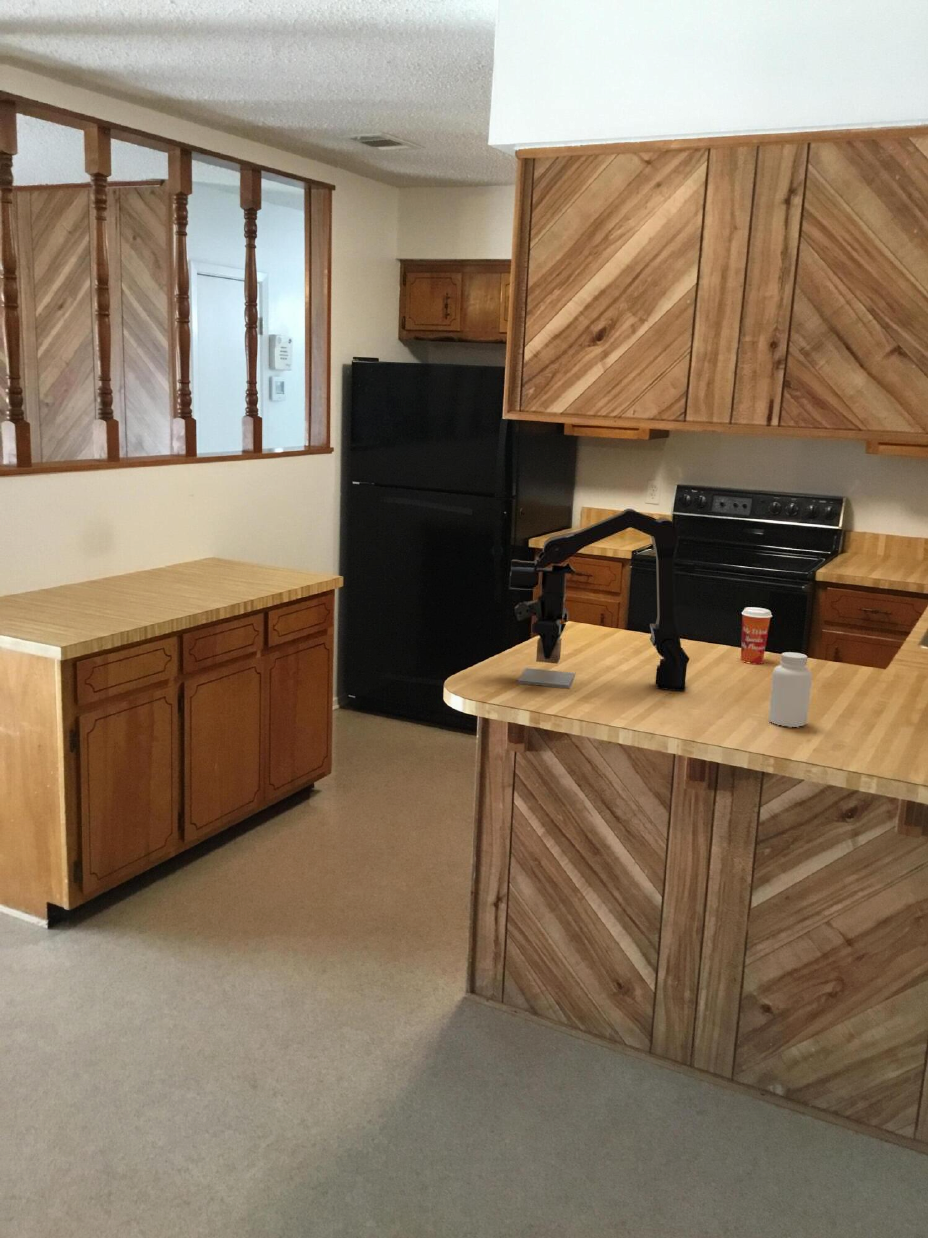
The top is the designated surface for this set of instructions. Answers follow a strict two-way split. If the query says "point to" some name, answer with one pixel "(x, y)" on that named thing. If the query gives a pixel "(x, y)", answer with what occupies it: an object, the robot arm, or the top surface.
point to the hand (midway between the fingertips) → (548, 656)
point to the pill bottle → (790, 691)
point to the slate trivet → (546, 678)
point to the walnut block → (554, 656)
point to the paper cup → (754, 634)
